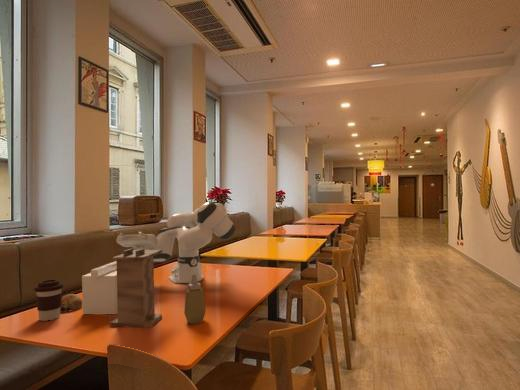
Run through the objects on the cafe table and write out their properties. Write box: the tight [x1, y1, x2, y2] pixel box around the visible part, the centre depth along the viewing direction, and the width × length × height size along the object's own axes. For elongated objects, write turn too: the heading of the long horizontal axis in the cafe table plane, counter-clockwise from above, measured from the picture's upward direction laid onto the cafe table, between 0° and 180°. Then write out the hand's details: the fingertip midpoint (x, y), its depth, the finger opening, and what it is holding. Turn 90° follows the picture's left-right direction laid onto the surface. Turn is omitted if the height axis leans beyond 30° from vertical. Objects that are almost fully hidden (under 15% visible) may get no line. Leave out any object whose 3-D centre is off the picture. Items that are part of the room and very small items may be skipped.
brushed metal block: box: [90, 260, 117, 277], centre depth 153 cm, size 26×3×3 cm, turn 174°
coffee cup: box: [33, 279, 64, 322], centre depth 140 cm, size 10×10×15 cm
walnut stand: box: [109, 248, 163, 328], centre depth 136 cm, size 18×16×28 cm
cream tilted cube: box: [81, 270, 118, 315], centre depth 152 cm, size 18×14×16 cm
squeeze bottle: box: [183, 274, 207, 325], centre depth 132 cm, size 8×8×18 cm
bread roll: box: [60, 293, 83, 312], centre depth 153 cm, size 10×10×8 cm
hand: (130, 233), depth 172 cm, fingers open, 8 cm apart
